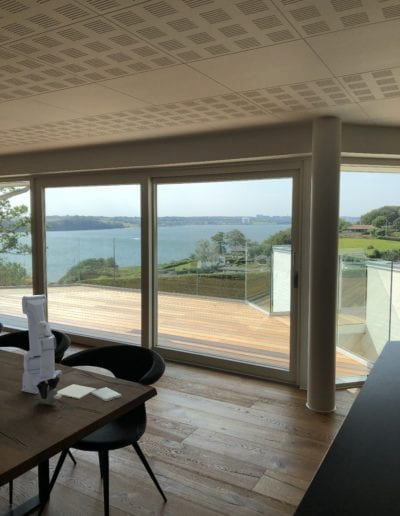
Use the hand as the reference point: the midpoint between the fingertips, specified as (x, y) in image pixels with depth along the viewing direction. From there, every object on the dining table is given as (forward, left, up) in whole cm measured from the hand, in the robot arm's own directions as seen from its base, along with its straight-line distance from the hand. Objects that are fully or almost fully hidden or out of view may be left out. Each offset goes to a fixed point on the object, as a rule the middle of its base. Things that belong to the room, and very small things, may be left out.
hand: (47, 396), depth 181 cm
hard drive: (+16, +19, -4) cm, 25 cm away
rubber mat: (+1, +16, -3) cm, 16 cm away
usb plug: (+1, 0, -2) cm, 2 cm away
